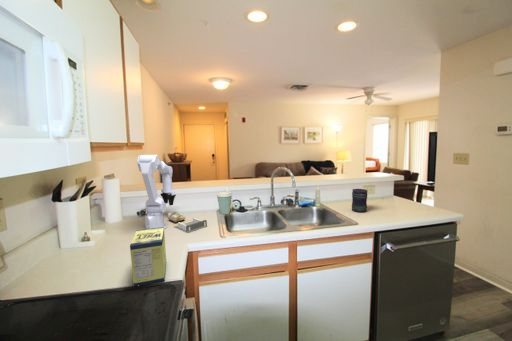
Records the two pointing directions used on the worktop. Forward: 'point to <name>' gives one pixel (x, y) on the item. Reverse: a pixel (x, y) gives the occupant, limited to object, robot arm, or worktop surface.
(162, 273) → the protein box
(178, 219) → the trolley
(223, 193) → the disposable coffee cup
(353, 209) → the storage jar
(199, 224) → the loading dock
